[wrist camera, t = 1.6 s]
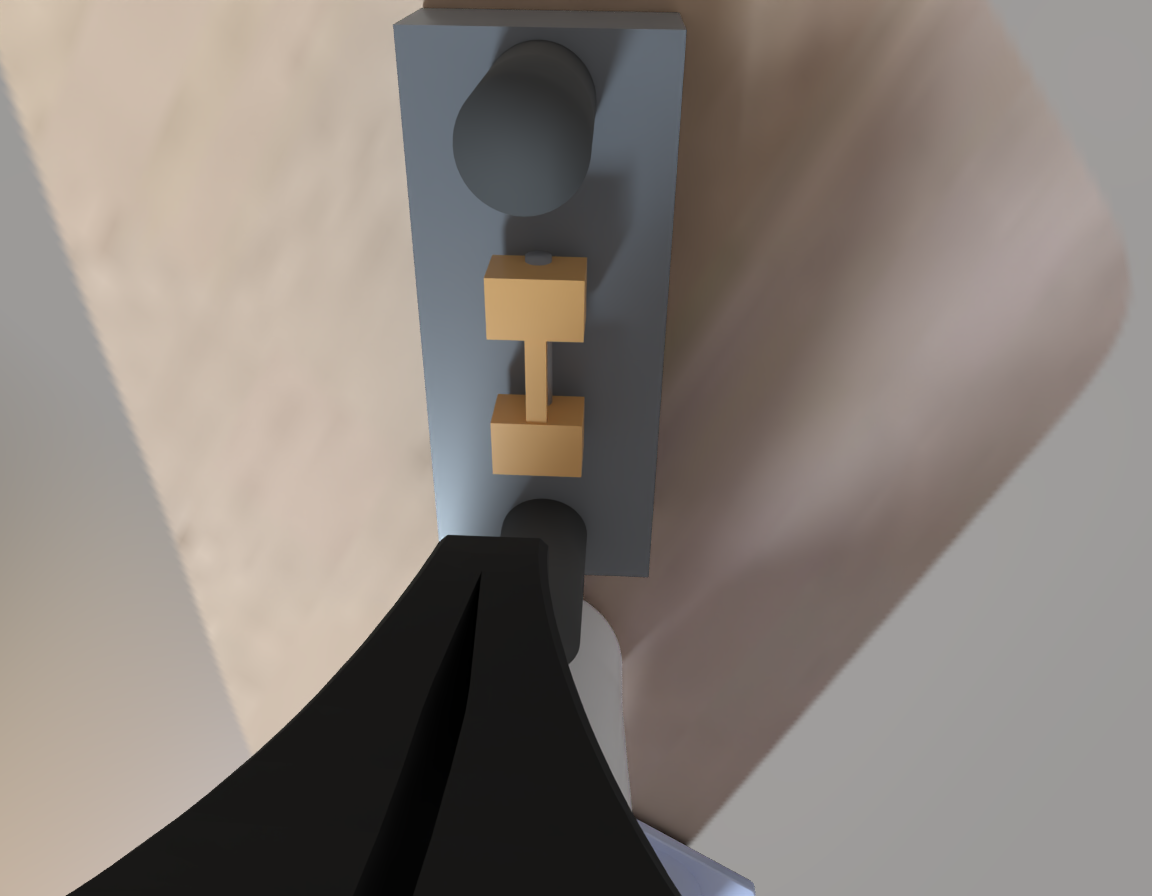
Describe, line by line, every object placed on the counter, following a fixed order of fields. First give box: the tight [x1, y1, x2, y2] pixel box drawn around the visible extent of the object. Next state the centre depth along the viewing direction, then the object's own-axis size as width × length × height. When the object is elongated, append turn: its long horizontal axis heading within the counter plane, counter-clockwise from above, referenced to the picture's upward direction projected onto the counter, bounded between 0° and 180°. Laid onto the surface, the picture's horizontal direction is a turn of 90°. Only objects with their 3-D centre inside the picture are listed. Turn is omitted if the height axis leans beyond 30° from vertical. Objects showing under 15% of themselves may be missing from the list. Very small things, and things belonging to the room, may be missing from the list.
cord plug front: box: [453, 40, 596, 217], centre depth 14 cm, size 2×2×4 cm
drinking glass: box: [568, 600, 632, 811], centre depth 20 cm, size 7×7×15 cm
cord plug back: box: [500, 499, 587, 664], centre depth 19 cm, size 2×2×4 cm
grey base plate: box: [393, 8, 687, 577], centre depth 19 cm, size 12×5×2 cm, turn 179°
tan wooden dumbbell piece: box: [484, 251, 587, 477], centre depth 18 cm, size 4×2×1 cm, turn 179°
